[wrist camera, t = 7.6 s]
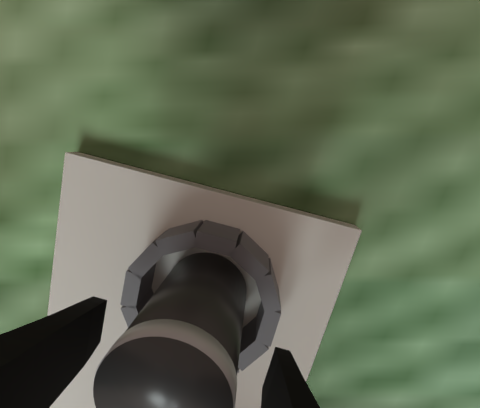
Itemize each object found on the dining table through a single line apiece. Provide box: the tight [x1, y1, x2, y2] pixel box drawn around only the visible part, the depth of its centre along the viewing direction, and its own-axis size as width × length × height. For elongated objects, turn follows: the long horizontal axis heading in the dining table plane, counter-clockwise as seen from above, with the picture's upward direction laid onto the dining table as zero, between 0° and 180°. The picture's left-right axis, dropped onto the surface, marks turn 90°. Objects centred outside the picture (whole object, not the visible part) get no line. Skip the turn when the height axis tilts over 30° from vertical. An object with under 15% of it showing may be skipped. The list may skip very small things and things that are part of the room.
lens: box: [93, 252, 247, 408], centre depth 12 cm, size 5×5×7 cm
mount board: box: [47, 152, 362, 408], centre depth 16 cm, size 20×16×3 cm
